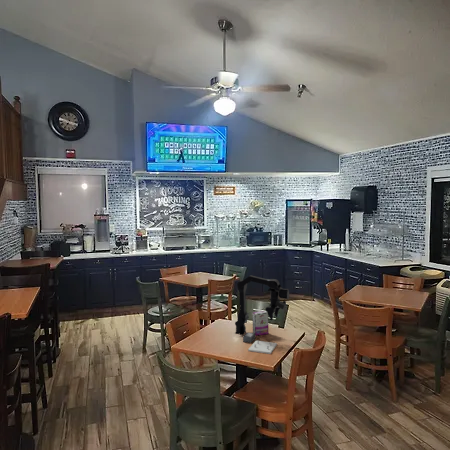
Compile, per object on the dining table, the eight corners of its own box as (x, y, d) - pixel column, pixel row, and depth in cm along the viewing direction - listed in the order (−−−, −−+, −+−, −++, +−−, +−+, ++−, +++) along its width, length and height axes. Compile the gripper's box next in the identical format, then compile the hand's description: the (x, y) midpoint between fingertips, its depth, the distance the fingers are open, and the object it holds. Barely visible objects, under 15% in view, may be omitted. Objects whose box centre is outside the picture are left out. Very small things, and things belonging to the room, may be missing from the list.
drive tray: (248, 350, 254) (248, 346, 253) (255, 341, 270) (255, 337, 270) (270, 353, 248) (270, 349, 248) (276, 344, 265) (276, 340, 265)
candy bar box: (265, 332, 291) (265, 310, 290) (268, 334, 287) (268, 312, 286) (252, 334, 287) (252, 312, 286) (255, 336, 282) (255, 314, 282)
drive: (243, 342, 271) (243, 336, 270) (247, 337, 280) (247, 332, 280) (251, 343, 268) (251, 337, 268) (255, 338, 278) (255, 333, 278)
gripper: (280, 301, 266) (279, 323, 267) (289, 296, 282) (289, 317, 283) (265, 299, 271) (265, 321, 272) (275, 294, 288) (274, 314, 289)
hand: (274, 318), depth 279 cm, fingers open, 9 cm apart
